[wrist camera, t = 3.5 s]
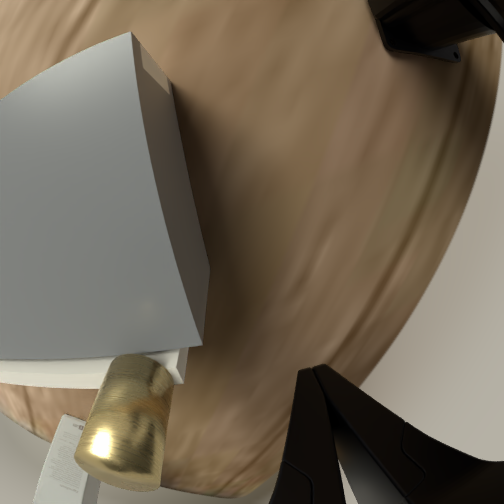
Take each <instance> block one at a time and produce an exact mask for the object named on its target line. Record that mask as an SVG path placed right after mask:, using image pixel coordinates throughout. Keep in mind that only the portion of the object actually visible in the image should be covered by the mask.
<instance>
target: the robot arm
mask: <svg viewBox="0 0 504 504" xmlns="http://www.w3.org/2000/svg"><path fill="white" fill-rule="evenodd" d="M368 2H369V5H370V7H371V10H372V13H373V15H374V17H375V20H376V22H377V26H378V29H379V32H380V35H381V38H382V42H383V44H384V46H385V47H386V48H387V49H388V50H390V51H395V52H402V53H408V54H414V55H420V56H425V57H431V58H435V59H440V60H444V61H448V62H452V63H457V62H460V61H461V57H460V53H459V50H458V46H457V43H461V42H464V41H467V40H471V39H475V38H478V37H482V36H486V35H490V34H494V33H497V34H498V36H499V37H500V38H501V40H502V41H503V42H504V0H368ZM390 41H391V42H392V43H393V45H392V44H391V43H390ZM338 460H339V462H340V464H341V466H342V469H343V471H344V473H345V475H346V478H347V480H348V482H349V484H350V486H351V489H352V491H353V493H354V496H355V497H356V500H357V502H358V504H504V461H497V462H496V461H486V460H481V459H478V458H476V457H473V456H471V455H468V454H466V453H463V452H461V451H459V450H457V449H455V448H452V447H450V446H448V445H446V444H444V443H442V442H440V441H437V440H436V439H434V438H432V437H430V436H428V435H426V434H425V433H423V432H422V431H420V430H418V429H417V428H415V427H413V426H412V425H411V424H409V423H408V422H405V421H404V420H403V419H402V418H400V417H399V416H397V415H396V414H394V413H393V412H392V411H390V410H389V409H387V408H386V407H384V406H383V405H381V404H380V403H379V402H377V401H376V400H374V399H373V398H372V397H370V396H369V395H367V394H366V393H365V392H363V391H362V390H360V389H359V388H358V387H356V386H355V385H354V384H352V383H351V382H349V381H348V380H347V379H345V378H344V377H343V376H341V375H340V374H339V373H337V372H336V371H335V370H333V369H332V368H331V367H329V366H328V365H326V364H321V365H317V366H314V367H313V368H305V369H301V370H299V371H298V375H297V381H296V387H295V393H294V399H293V405H292V411H291V416H290V422H289V427H288V432H287V437H286V442H285V447H284V452H283V457H282V462H281V465H280V470H279V474H278V478H277V481H276V485H275V488H274V491H273V494H272V496H271V499H270V501H269V504H346V501H345V495H344V489H343V484H342V478H341V473H340V468H339V462H338Z"/></svg>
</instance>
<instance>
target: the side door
mask: <svg viewBox="0 0 504 504" xmlns="http://www.w3.org/2000/svg"><path fill="white" fill-rule="evenodd" d="M188 350H189V347H186V348H179V349H172V350H164V351H156V352H147V353H137V354H123V355H116V356H103V357H88V358H68V359H0V382H1V383H9V384H17V385H27V386H38V387H53V388H82V389H99V391H98V394H97V396H96V399H95V401H94V403H93V406H92V408H91V411H90V413H89V416H88V419H87V421H86V424H85V426H84V429H83V432H82V434H81V437H80V440H79V443H78V446H77V448H76V451H75V454H74V459H75V462H76V463H77V464H78V465H79V467H81V468H82V469H83V470H84V471H85V472H87V473H88V474H90V475H91V476H93V477H95V478H96V479H98V480H100V481H103V482H105V483H107V484H110V485H112V486H115V487H118V488H122V489H126V490H131V491H140V492H144V491H145V492H147V491H154V490H156V489H158V488H159V487H160V481H161V472H162V464H163V456H164V448H165V441H166V433H167V426H168V420H169V413H170V407H171V400H172V394H173V388H174V385H175V384H184V378H185V371H186V364H187V357H188Z"/></svg>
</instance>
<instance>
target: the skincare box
mask: <svg viewBox="0 0 504 504" xmlns="http://www.w3.org/2000/svg"><path fill="white" fill-rule="evenodd" d="M85 424H86V421H83V420H80V419H78V418H75V417H73V416H70V415H67V414H64V415H63V416H62V418H61V420H60V423H59V425H58V428H57V430H56V433H55V436H54V438H53V441H52V444H51V447H50V449H49V452H48V455H47V457H46V460H45V463H44V466H43V469H42V472H41V475H40V479H39V482H38V485H37V489H36V493H35V496H34V500H33V504H97V498H98V493H99V487H100V482H101V481H100V480H98V479H96V478H95V477H93V476H91V475H90V474H88V473H87V472H85V471H84V470H83V469H82V468H81V467H79V465H78V464H77V463H76V462H75V459H74V454H75V451H76V448H77V446H78V443H79V440H80V437H81V434H82V432H83V429H84V426H85Z"/></svg>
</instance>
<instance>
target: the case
mask: <svg viewBox="0 0 504 504" xmlns="http://www.w3.org/2000/svg"><path fill="white" fill-rule="evenodd" d="M209 277H210V265H209V261H208V257H207V253H206V249H205V245H204V241H203V237H202V233H201V229H200V224H199V220H198V216H197V211H196V207H195V203H194V198H193V194H192V189H191V184H190V180H189V175H188V170H187V166H186V161H185V156H184V151H183V146H182V141H181V136H180V131H179V126H178V120H177V115H176V109H175V104H174V98H173V93H172V87H171V81H170V80H169V79H168V77H167V76H166V75H165V73H164V72H163V71H162V70H161V68H160V67H159V66H158V65H157V63H156V62H155V61H154V60H153V58H152V57H151V56H150V54H149V53H148V52H147V51H146V50H145V48H144V47H143V46H142V45H141V43H140V42H139V41H138V40H137V38H136V37H135V36H134V35H133V34H132V32H128V33H125V34H122V35H119V36H117V37H114V38H112V39H109V40H107V41H104V42H102V43H99V44H97V45H95V46H92V47H90V48H88V49H86V50H84V51H81V52H79V53H77V54H75V55H73V56H71V57H69V58H67V59H65V60H63V61H61V62H59V63H58V64H56V65H54V66H52V67H50V68H49V69H47V70H45V71H43V72H42V73H40V74H38V75H37V76H35V77H33V78H32V79H30V80H29V81H27V82H26V83H24V84H22V85H21V86H19V87H18V88H16V89H15V90H14V91H12V92H11V93H9V94H8V95H6V96H5V97H4V98H2V99H1V100H0V359H68V358H88V357H103V356H116V355H123V354H137V353H147V352H156V351H164V350H172V349H179V348H186V347H193V346H200V345H203V335H204V324H205V314H206V305H207V295H208V286H209Z"/></svg>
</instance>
